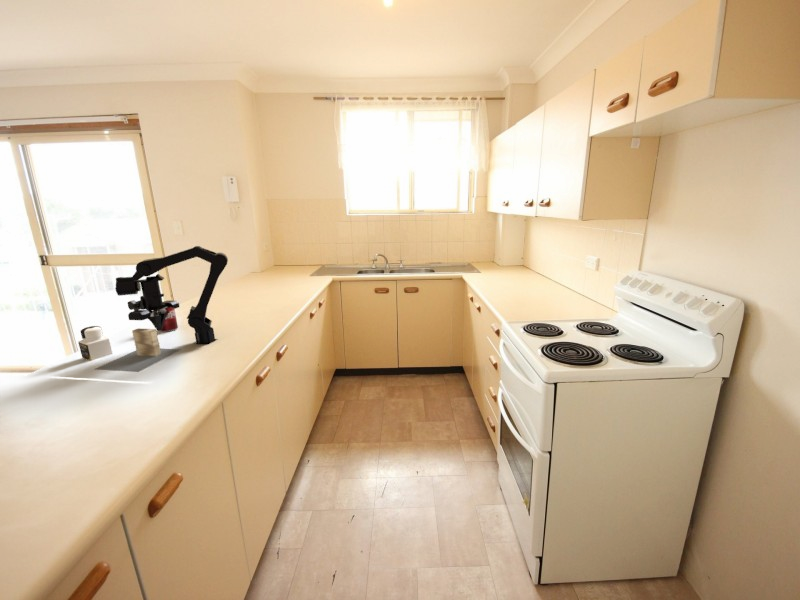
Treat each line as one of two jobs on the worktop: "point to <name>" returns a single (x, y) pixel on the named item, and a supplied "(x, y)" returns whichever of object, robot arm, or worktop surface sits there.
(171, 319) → the soda can
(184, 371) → the worktop surface
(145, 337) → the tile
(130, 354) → the mat
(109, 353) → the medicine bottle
